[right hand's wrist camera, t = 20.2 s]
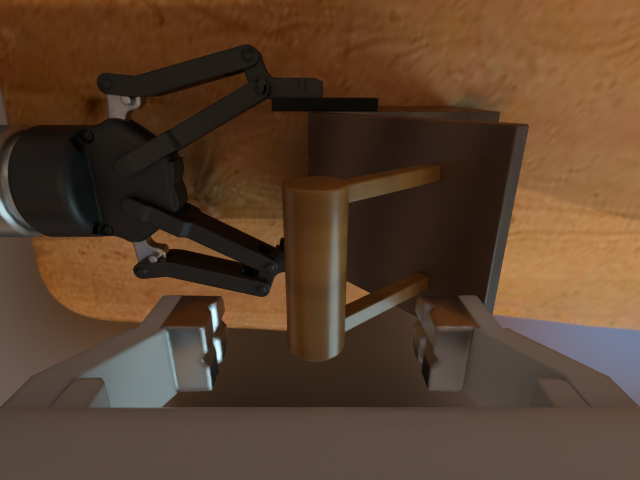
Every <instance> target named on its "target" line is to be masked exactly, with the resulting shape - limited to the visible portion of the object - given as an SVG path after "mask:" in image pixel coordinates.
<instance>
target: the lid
mask: <svg viewBox="0 0 640 480" xmlns="http://www.w3.org/2000/svg"><path fill="white" fill-rule="evenodd" d="M528 127H529V125H528V124H519V123H502V122H485V121H467V120H450V119H433V118H416V117H399V116H381V115H364V114H347V113H330V112H310V113H308V133H309V176H304V177H297V178H292V179H289V180H286V181H284V182H283V184H282V195H283V223H284V251H285V279H286V306H287V334H288V347H289V349H290V351H291V352H292V353H293V354H294V355H295V356H297V357H298V358H301V359H303V360H307V361H325V360H329V359H331V358H333V357H335V356H337V355H338V354H339V353H340V352H341V351H342V349H343V347H344V342H345V332H346V331H348V330H350V329H352V328H353V327H356V326H357V325H359V324H361V323H363V322H365V321H367V320H369V319H371V318H373V317H375V316H377V315H379V314H380V313H382V312H384V311H386V310H388V309H390V308H392V307H394V306H397V307H399V308H401V309H402V310H404V311H406V312H408V313H410V314H412V315H414V316H416V317H418V316H417V314H416V311H415V309H416V302H417V298H418V297H420V296H455V295H457V296H461V295H475V296H477V297H478V298H479V299H480V301H481V302H482V303H483V304H484V306H485V307H486V308H487V309H488V311H489V312H490V313H491V315H492V314H493V309H494V303H495V298H496V293H497V288H498V283H499V278H500V272H501V267H502V262H503V257H504V252H505V247H506V241H507V236H508V231H509V226H510V221H511V215H512V210H513V205H514V200H515V195H516V190H517V184H518V179H519V174H520V169H521V164H522V158H523V153H524V148H525V143H526V138H527V133H528ZM346 281H348V282H350V283H352V284H354V285H356V286H358V287H360V288H362V289H363V290H365V291H367V292H369V293H371V294H369V295H366V296H364V297H362V298H360V299H358V300H356V301H353V302H351V303H349V304H347V305H346Z"/></svg>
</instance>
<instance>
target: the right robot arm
mask: <svg viewBox="0 0 640 480" xmlns="http://www.w3.org/2000/svg"><path fill="white" fill-rule="evenodd" d="M224 311H225V309H224V302H223V299H222V297H221V296H188V295H185V296H183V295H167V296H163V297H162V298H161V299H160V300H159V302H158V303H157V304H156V305H155V307H154V308H153V309H152V311H151V312H150V313H149V314H148V316H147V317H146V318H145V320H144V321H143V322H142V323H141V325H140V326H139V327H138V328H131V329H129V330H127V331H125V332H123V333H121V334H119V335H117V336H115V337H113V338H110V339H108V340H106V341H104V342H102V343H100V344H98V345H96V346H94V347H92V348H90V349H87V350H85V351H83V352H81V353H79V354H77V355H75V356H73V357H71V358H69V359H67V360H65V361H62V362H60V363H58V364H56V365H54V366H52V367H50V368H48V369H46V370H44V371H42V372H39V373H37V374H35V375H33V376H31V377H30V378H29V379H28V380H27V381H26V382H25V383H24V384H23V385H22V386H21V387H20V388H19V389H18V390H17V391H16V392H15V393H14V394H13V395H12V396H11V397H10V398H9V399H8V400H7V401H6V402H5V403H4V404H3V405H2V406H1V407H0V480H640V407H639V406H638V405H637V404H636V403H635V402H634V401H633V400H632V399H631V398H630V397H629V396H628V395H627V394H626V393H625V392H624V391H623V390H622V389H621V388H620V387H619V386H618V385H617V384H616V383H615V382H614V381H613V380H612V379H611V378H610V377H608V376H606V375H604V374H602V373H600V372H598V371H596V370H594V369H592V368H590V367H588V366H586V365H584V364H581V363H579V362H577V361H575V360H573V359H571V358H569V357H567V356H565V355H563V354H561V353H559V352H557V351H554V350H552V349H550V348H548V347H546V346H544V345H542V344H540V343H538V342H536V341H534V340H532V339H530V338H527V337H525V336H523V335H521V334H519V333H517V332H515V331H513V330H511V329H509V328H502V327H501V326H500V325H499V323H498V322H497V321H496V320H495V318H494V317H493V316H492V315H491V313H490V312H489V311H488V309H487V308H486V307H485V306H484V304H483V303H482V302H481V301H480V299H479V298H478V297H477V296H475V295H461V296H457V295H455V296H420V297H418V298H417V302H416V309H415V311H416V314H417V316H418V318H419V320H418V321H417V322H416V323H415V324H414V328H413V346H414V351H415V355H416V358H417V360H418V361H419V362H421V363H422V375H423V377H424V380H425V383H426V385H427V388H428V390H429V391H459V392H463V394H465V395H466V396H467V397H468V398H469V399H470V400H471V401H473V402H474V403H475V404H476V405H477V406H478V407H162V406H163V405H164V404H165V403H166V402H168V401H169V400H170V399H171V398H172V397H173V396H174V395H176V394H177V392H180V391H211V390H212V388H213V385H214V383H215V380H216V377H217V375H218V363H219V362H221V361H222V360H223V358H224V355H225V352H226V345H227V328H226V324H225V323H224V322H223V321H222V320H221V319H222V316H223V314H224Z"/></svg>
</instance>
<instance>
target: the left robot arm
mask: <svg viewBox="0 0 640 480" xmlns="http://www.w3.org/2000/svg"><path fill="white" fill-rule="evenodd" d="M244 72H245V75H246V77H247V80H248V82H249V83H247V84H246V85H244V86H242V87H241V88H239V89H237V90H236V91H234V92H232V93H231V94H229V95H227V96H226V97H224V98H222V99H221V100H219V101H217V102H216V103H214V104H212V105H211V106H209V107H207V108H206V109H204V110H202V111H200V112H199V113H197V114H195V115H194V116H192V117H190V118H189V119H187V120H185V121H184V122H182V123H180V124H179V125H177V126H175V127H174V128H172V129H170V130H168V131H166V132H164V133H162V134H160V135H159V136H156V135H154V134H153V133H151V132H150V131H148V130H147V129H145V128H144V127H142V126H141V125H139V124H138V123H136V122H135V121H133V120H132V119H131V115H132V113H133V111H135V110H137V109H142V108H144V106H145V105H146V97H153V96H161V95H166V94H169V93H173V92H176V91H180V90H183V89H187V88H190V87H194V86H198V85H201V84H205V83H208V82H212V81H215V80H219V79H222V78H226V77H230V76H233V75H237V74H240V73H244ZM97 85H98V88H99V89H100V91H102V92H103V93H104V94H107V101H108V112H109V119H107V120H105V121H104V122H102V123H100V124H98V125H38V126H34V127H30V126H27V125H0V237H42V236H45V235H46V236H50V237H100V236H117V237H121V238H123V239H125V240H127V241H130V242H133V245H134V249H135V252H136V256H137V259H138V263H137V264H136V265H135V266H134V269H133V272H134V274H135V275H136V276H137V277H138V278H141V279H146V278H157V277H171V278H176V279H180V280H185V281H190V282H194V283H199V284H204V285H208V286H213V287H218V288H222V289H227V290H232V291H236V292H241V293H245V294H250V295H255V296H259V297H264V296H267V295H268V294H269V292H270V288H271V285H272V283H273V280H274V277H275V276H276V275H277V274H278V273H281V272H285V251H284V238H281V240H280V245H276V247H273V246H271V245H269V244H267V243H265V242H263V241H261V240H259V239H256V238H254V237H252V236H250V235H248V234H246V233H244V232H242V231H240V230H238V229H236V228H233V227H231V226H229V225H227V224H225V223H223V222H221V221H219V220H217V219H215V218H212V217H210V216H208V215H206V214H204V213H202V212H201V210H200V209H199V208H197V207H195V206H193V205H191V204H189V203H187V202H186V201H187V200H188V196H187V189H186V187H185V184H184V182H183V179H182V178H183V171H184V165H183V157H179V154H178V153H177V151H179V150H181V149H183V148H184V147H186V146H188V145H189V144H191V143H193V142H194V141H196V140H197V139H199V138H201V137H202V136H204V135H206V134H208V133H209V132H211V131H213V130H214V129H216V128H218V127H220V126H221V125H223V124H225V123H226V122H228V121H230V120H232V119H233V118H235V117H237V116H239V115H240V114H242V113H244V112H245V111H247V110H249V109H251V108H252V107H254V106H256V105H257V104H259V103H261V102H263V101H264V100H266V99H272V111H378V98H323V81H320V80H318V79H316V78H274V77H272V76H271V75H270V74H269V73H268V71H267V69H266V67H265V64H264V61H263V58H262V55H261V53H260V52H259V51H258V50H257V49H256V48H254V47H253V46H251V45H249V44H247V45H241V46H238V47H234V48H231V49H227V50H224V51H221V52H217V53H214V54H210V55H207V56H203V57H200V58H196V59H193V60H189V61H186V62H182V63H179V64H175V65H172V66H168V67H165V68H161V69H158V70H154V71H151V72H147V73H144V74H140V75H137V76H130V75H121V74H110V73H102V74H101V75H99V77H98V78H97ZM159 229H161V230H163V231H166V232H168V233H170V234H172V235H174V236H177V237H186V238H189V239H191V240H193V241H195V242H197V243H200V244H202V245H204V246H206V247H208V248H210V249H213V250H215V251H217V252H219V253H221V254H223V255H226V256H228V257H230V258H232V259H234V260H236V261H239V262H236V261H231V260H227V259H222V258H218V257H213V256H209V255H204V254H200V253H195V252H191V251H187V250H181V249H169V247H168V245H167V244H161V243H157V242H155V241H154V240H153V239H152V238H151V235H153V234H154V233H155V232H156V231H158V230H159ZM240 262H241V263H240Z"/></svg>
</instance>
